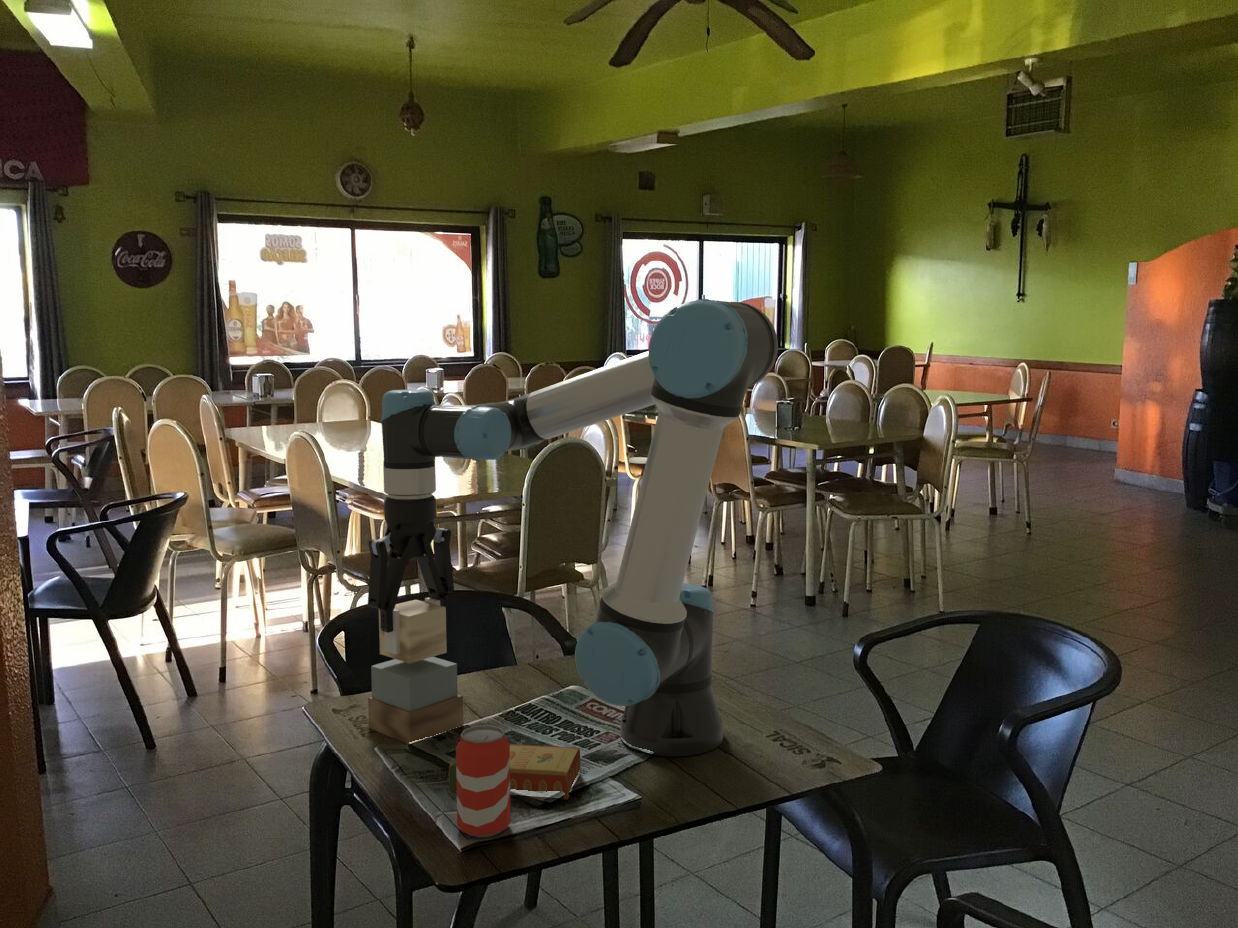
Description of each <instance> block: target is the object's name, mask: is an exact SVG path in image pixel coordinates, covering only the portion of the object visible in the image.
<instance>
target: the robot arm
mask: <svg viewBox="0 0 1238 928" xmlns="http://www.w3.org/2000/svg"><path fill="white" fill-rule="evenodd" d="M778 349H779V342H778V335H777V332H776V330H775V326H774V325H773V323H772V321H771V320H770V318H769V317H768V316H767V315H766V314H765V313H764V312H763V311H762V310H761V309H759V308H757V307H756V306H754V305H752V304H749V303H746V302H745V303H744V302H740V301H739V302H737V301H723V300H715V299H710V298H709V299H708V298H703V299H702V298H701V299H696V300H691V301H687V302H685V303H682V304H679V305H677V306H675V307H673V308H672V309H670V310H669V311H667V312H666V313H665V314H664V315H663V316H662V317H661V318H660V319H659V321H658V322H657V323H656V325H655V327H654V328H653V330H652V333H651V335H650V339H649V342H648V350H647V351H644V352H641V353H639V354H636V355H633V356H630V357H627V358H624V359H621V360H619V361H616V362H613V363H610V364H607V365H605V366H601V367H599V368H597V369H594V370H591V371H588V372H585V373H583V374H579V375H577V376H574V377H572V378H569V379H565V380H563V381H559V382H557V383H555V384H552V385H549V386H546V387H543V388H541V389H537V390H535V391H532V392H530V393H527V394H526V393H525V394H523V395H520V396H517V397H515V398H511V399H508V400H505V401H503V400H502V401H499V402H489V403H488V402H487V403H481V404H479V403H478V404H470V405H469V404H468V405H441V404H436V402H435V396H434V394H433V393H434V392H432V391H431V390H428V389H392V390H389V391H387V392H385V393H384V394H383V396H382V399H381V401H382V405H381V419H380V423H381V434H382V449H383V450H382V451H383V462H382V463H383V464H382V465H383V466H382V468H383V470H382V471H383V492H384V493H385V494H386V495H387V496H386V497H385V498H384V499H383V505H384V506H383V513H384V521H385V523H386V530H385V533H384V536H383V537H381V538H379V539H373V538H372V539H370V540H369V541H368V548H369V552H370V568H369V579H368V594H367V605H368V607H371V608H375V609H378V611H379V610H380V621H381V630H382V631H384V634H385V651H387V652H390V653H393V654H396V655H397V654H400V622H399V614H400V611H399V610H397V609H394V608H395V605H396V604H397V600H398V597H399V593H400V590H401V585H402V581H403V578H404V574H405V570H406V567H408V565H409V564H410V560H412V559H414V558H415V559H416V560H417V563H418V566H419V569H420V572H421V575H422V577H423V581H424V583H425V586H426V589H427V592H428V596H430V597H425V598H424V602H427V603H431V604H435V605H439V606H443V607H444V601H446V600H447V599H448V598H449V596H450V595H449V593H450V594H451V593H453V592H454V590H455V584H454V574H453V573H454V572H453V565H452V557H451V547H450V543H451V537H452V531H451V530H450V529H447V528H443V527H437V528H436V526H435V523H434V521H435V520H436V519H437V498H436V496H435V495H433V494H434V493H435V492H436V490H437V482H436V458H439V457H440V458H450V459H451V458H452V459H465V460H472V461H473V462H474V461H475V462H479V461H485V460H486V461H494V460H498V459H500V458H501V457H502V456H503V455H504V453H505V452H509V451H516V450H521V451H522V450H526V449H531V448H533V447H535V446H537V445H539V444H541V443H543V442H544V441H547V440H550V439H553V438H556V437H558V436H559V437H560V436H562V435H566V434H568V433H571V432H575V431H577V430H580V429H583V428H588V427H590V426H593V425H596V424H599V423H601V422H605V421H608V420H611V419H614V418H617V417H620V416H623V415H626V414H629V413H632V412H636V411H640V410H641V409H645V408H648V407H650V406H651V407H652V406H654V405H655V407H656V408H657V411H658V413H657V417H656V422H655V425H654V430H653V434H652V438H651V441H650V445H649V450H648V454H647V457H646V462H645V465H644V466H645V467H644V470H643V473H642V478H641V482H640V487H639V490H638V494H637V499H636V502H635V506H634V510H633V514H632V518H631V523H630V527H629V531H628V535H627V539H626V541H625V547H624V551H623V554H622V559H621V563H620V566H619V571H618V575H617V579H616V581H615V582H614V583H612V584H610V585H609V586H607V587H605V588H604V589H603V590H602V592H601V597H600V600H599V603H598V609H597V613H596V617H595V620H594V623H593V624H591V625H589V626H588V627H586V628H585V629H584V632H582V633H581V635H580V636H579V637H578V640H577V642H576V646H575V649H574V650H575V651H574V662H575V663H574V664H575V666H576V671H577V672H578V675H579V677H580V678H581V679H582V681H583V682H584V686H585V687H586V688H587V689H588V690H589V692H590V693H591V694H592V695H593V696H595V697H596V698H597V699H599V700H601V701H602V702H604V703H607V704H609V705H612V706H617V707H625V708H624V710H623V713H622V716H621V719H620V728H619V731H620V732H619V733H620V734H621V737H622V738H623V739H624V740H625V741H626V742H627V743H629V744H631V745H632V746H635V747H638V748H642V749H647V750H650V751H653V752H654V753H653V755H654V756H660V757H661V756H663V757H686V756H687V757H688V756H695V755H700V754H703V753H707V752H709V751H712V750H715V749H716V748H717V747H718V748H719V746H720V745H721V744H722V743H723V740H724V723H723V721H722V717H721V716H720V712H719V708H718V705H717V700H716V698H715V694H714V691H713V686H712V683H713V682H712V680H713V679H712V677H713V676H712V675H713V673H712V672H713V671H712V670H713V637H714V636H713V635H714V632H713V631H714V628H713V627H714V613H715V609H714V606H713V595H712V593H711V591H710V590H709V589H708V588H706V587H704V586H701V585H696V584H691V583H684V581H685V578H686V574H687V570H688V566H689V562H690V557H691V555H692V551H693V548H694V547H693V546H694V542H695V540H696V535H697V532H698V528H699V524H700V521H701V517H702V512H703V508H704V506H705V501H706V498H707V494H708V489H709V485H710V482H711V480H712V474H713V470H714V466H715V463H716V459H717V455H718V452H719V448H720V444H721V441H722V436H723V432H724V429H725V428H726V426H728V425H730V424H731V423H733V422H734V421H736V420H738V419H739V418H740V415H741V412H742V407H743V404H744V401H745V397H746V392H747V389H748V388H751V387H753V386H755V385H756V384H758V383H759V382H760V381H762V380H763V379H764V378H765V377H767V375H768V374H769V373H770V371H771V370H772V368H773V367H774V365H775V362H776V359H777V356H778V353H779V352H778V351H779V350H778ZM388 552H389V554H388Z"/></svg>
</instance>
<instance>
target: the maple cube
mask: <svg viewBox="0 0 1238 928" xmlns="http://www.w3.org/2000/svg"><path fill="white" fill-rule="evenodd" d="M446 608H447V607H446V606H444V605H443V606H439V605H435V604H431V603H427V602H425V601H424V600H419V599H413V600H408V601H404V602H400V603H396V605H395V608H394V609H397V610H399V611H400V614H399V622H400V654H397V655H396V654H393V653H390V652H387V651H385V634H384V631H382V630H381V621H380V610H379V609H378V631H379V636H378V637H379V639H378V640H379V655H382V656H385V657H389V658H392V659H393V660H394V659H397V660H400V661H404V662H407V663H413V662H416V661H419V660H423V659H426V658H430V657H436V656H439V655H444V654H447V653H448V651H447V650H448V649H447V648H448V647H447V611H446V610H447V609H446Z"/></svg>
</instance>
